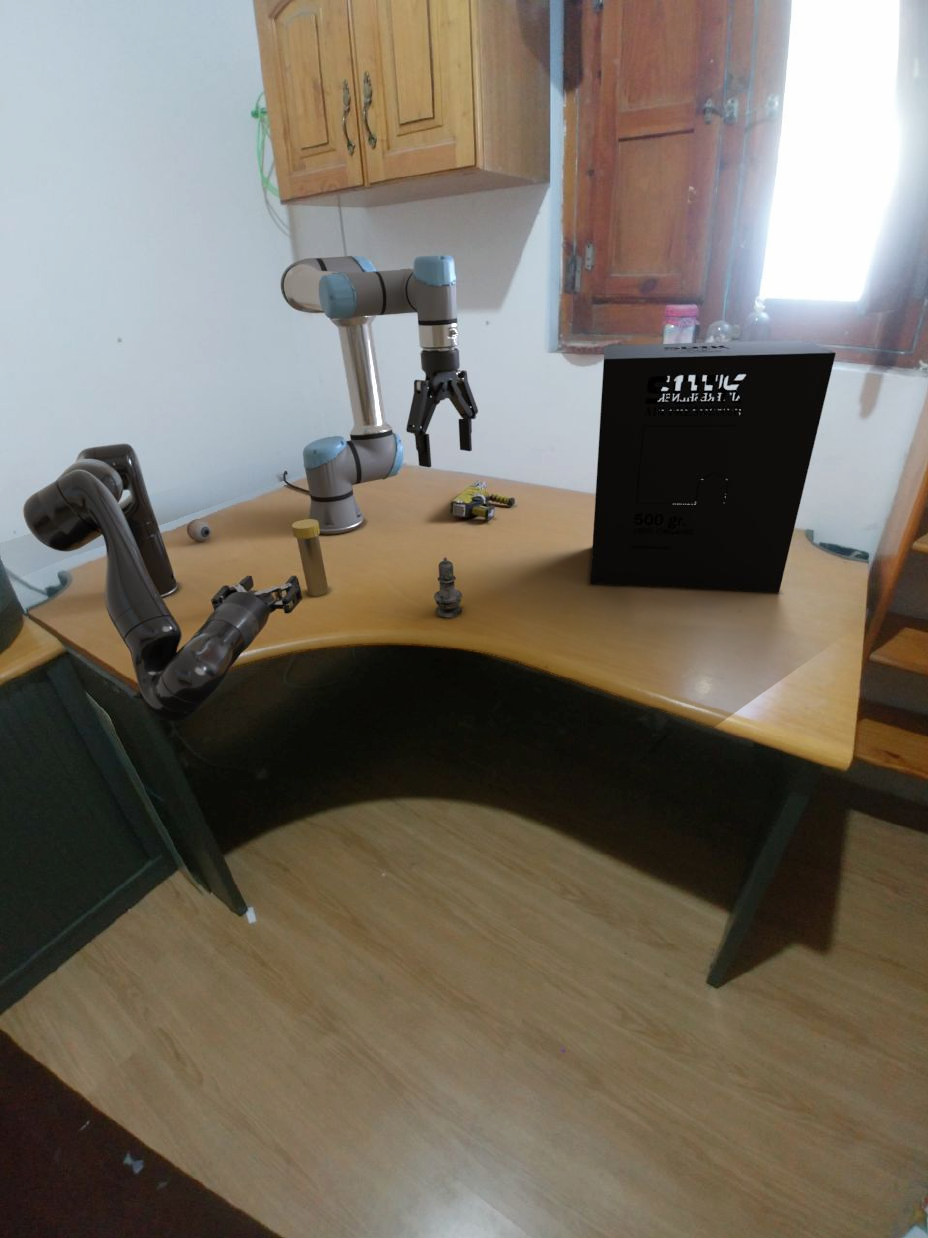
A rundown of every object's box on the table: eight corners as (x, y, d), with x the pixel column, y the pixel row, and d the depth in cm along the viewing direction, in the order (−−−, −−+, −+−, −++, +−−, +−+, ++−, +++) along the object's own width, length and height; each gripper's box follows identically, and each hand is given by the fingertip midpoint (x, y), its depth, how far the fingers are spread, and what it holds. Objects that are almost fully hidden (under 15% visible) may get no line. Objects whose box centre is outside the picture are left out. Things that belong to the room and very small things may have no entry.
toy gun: (523, 485, 181) (476, 478, 185) (501, 509, 161) (448, 500, 165) (521, 500, 184) (475, 493, 187) (499, 525, 163) (447, 517, 167)
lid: (293, 540, 124) (291, 529, 123) (294, 531, 129) (292, 520, 128) (320, 536, 125) (318, 526, 124) (319, 527, 130) (318, 517, 129)
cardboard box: (758, 552, 140) (802, 339, 117) (778, 592, 123) (835, 352, 100) (592, 546, 147) (604, 345, 125) (590, 583, 130) (603, 358, 108)
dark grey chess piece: (460, 618, 120) (456, 564, 114) (431, 617, 121) (426, 562, 115) (465, 604, 125) (462, 551, 119) (438, 603, 126) (434, 550, 120)
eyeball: (200, 546, 160) (194, 525, 157) (185, 542, 163) (179, 521, 160) (219, 538, 165) (213, 517, 162) (204, 535, 168) (198, 514, 165)
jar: (308, 597, 132) (294, 530, 124) (308, 589, 136) (294, 523, 128) (328, 594, 132) (316, 527, 125) (328, 586, 136) (316, 520, 128)
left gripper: (272, 603, 94) (306, 560, 108) (186, 604, 95) (231, 561, 109) (282, 644, 97) (314, 598, 111) (199, 644, 99) (240, 598, 113)
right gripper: (410, 358, 106) (420, 476, 117) (492, 341, 123) (494, 446, 133) (380, 356, 110) (392, 470, 121) (463, 340, 127) (468, 442, 137)
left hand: (273, 580), depth 110 cm, fingers open, 8 cm apart
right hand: (446, 458), depth 127 cm, fingers open, 13 cm apart
